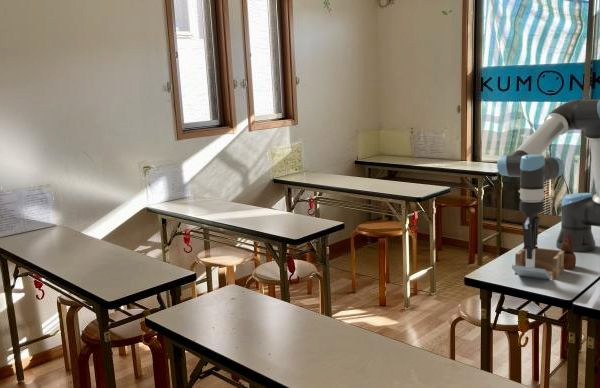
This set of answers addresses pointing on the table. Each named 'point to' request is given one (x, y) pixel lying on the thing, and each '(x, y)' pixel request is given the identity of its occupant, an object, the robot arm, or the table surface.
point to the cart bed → (544, 260)
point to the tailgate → (531, 272)
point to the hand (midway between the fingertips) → (530, 267)
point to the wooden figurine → (568, 252)
